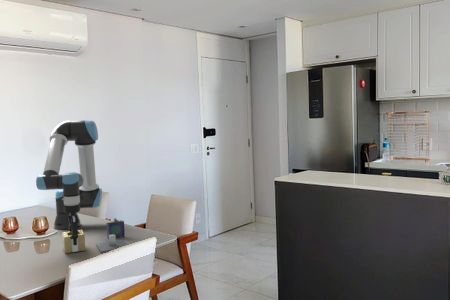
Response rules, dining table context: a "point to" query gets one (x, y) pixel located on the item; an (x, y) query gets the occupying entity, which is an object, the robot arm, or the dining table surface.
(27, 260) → the dining table surface
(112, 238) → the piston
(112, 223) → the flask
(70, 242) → the olive slotted box
